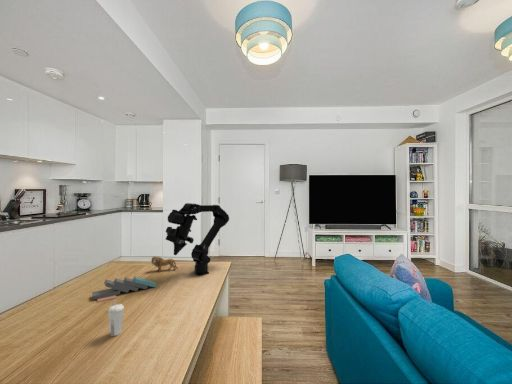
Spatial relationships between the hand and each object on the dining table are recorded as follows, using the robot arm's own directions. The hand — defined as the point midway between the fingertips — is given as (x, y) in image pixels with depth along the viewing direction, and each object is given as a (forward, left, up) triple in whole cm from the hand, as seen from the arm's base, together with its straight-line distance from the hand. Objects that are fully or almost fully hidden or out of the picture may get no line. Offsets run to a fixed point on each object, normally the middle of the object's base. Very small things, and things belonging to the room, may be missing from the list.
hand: (174, 254), depth 130 cm
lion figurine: (0, -17, -13) cm, 21 cm away
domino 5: (+11, +3, -12) cm, 16 cm away
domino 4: (+15, +3, -12) cm, 19 cm away
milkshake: (+32, +37, -13) cm, 51 cm away
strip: (+31, +3, -13) cm, 34 cm away
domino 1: (+26, +3, -12) cm, 29 cm away
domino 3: (+19, +3, -12) cm, 23 cm away
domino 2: (+23, +3, -12) cm, 26 cm away
